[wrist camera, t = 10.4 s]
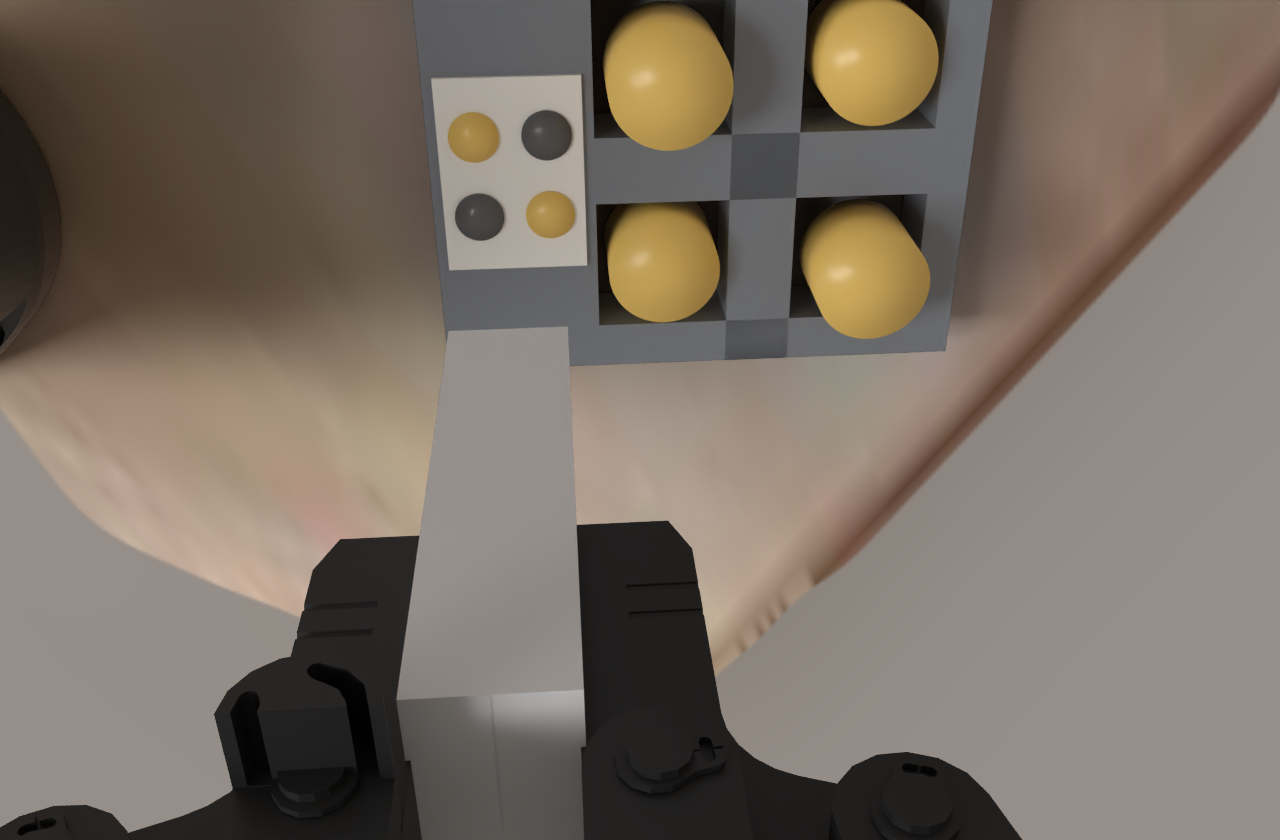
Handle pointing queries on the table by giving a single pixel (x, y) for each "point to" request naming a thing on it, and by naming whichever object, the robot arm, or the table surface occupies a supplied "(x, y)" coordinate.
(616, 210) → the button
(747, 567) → the table surface
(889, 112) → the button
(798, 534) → the table surface
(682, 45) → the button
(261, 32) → the table surface
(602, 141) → the board
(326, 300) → the table surface
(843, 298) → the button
